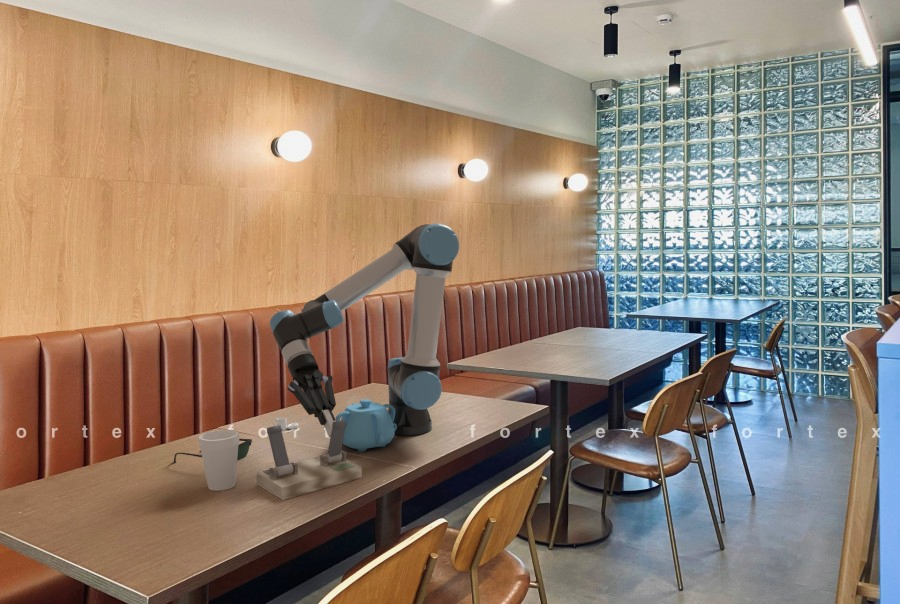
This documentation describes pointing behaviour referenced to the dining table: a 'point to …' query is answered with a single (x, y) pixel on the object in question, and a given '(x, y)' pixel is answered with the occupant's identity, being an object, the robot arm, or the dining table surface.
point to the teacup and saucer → (283, 422)
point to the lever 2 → (336, 441)
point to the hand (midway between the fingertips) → (333, 433)
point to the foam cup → (220, 458)
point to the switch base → (309, 476)
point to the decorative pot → (368, 425)
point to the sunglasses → (242, 450)
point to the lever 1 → (279, 451)
